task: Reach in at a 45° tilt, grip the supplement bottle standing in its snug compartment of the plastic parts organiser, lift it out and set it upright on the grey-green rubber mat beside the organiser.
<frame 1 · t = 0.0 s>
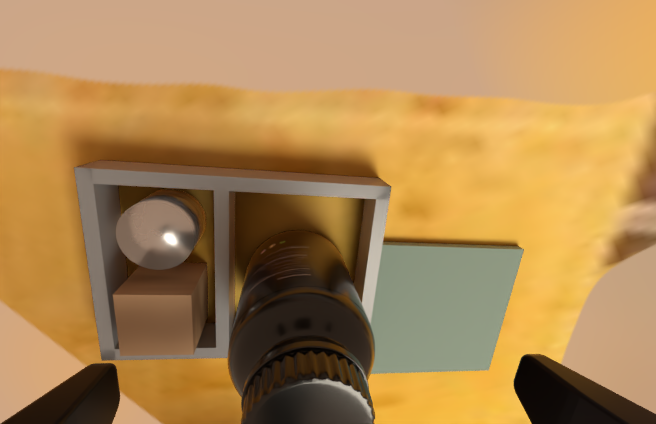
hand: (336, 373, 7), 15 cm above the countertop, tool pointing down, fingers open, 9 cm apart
rubber mat: (436, 309, 25), on the countertop
silver round piece: (173, 219, 20), resting in parts organiser
supplement bottle: (296, 270, 23), resting in parts organiser
parts organiser: (253, 257, 22), on the countertop
walnut block: (177, 288, 22), resting in parts organiser
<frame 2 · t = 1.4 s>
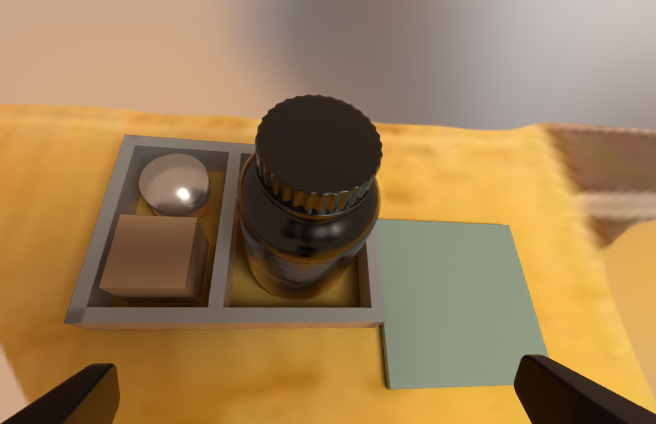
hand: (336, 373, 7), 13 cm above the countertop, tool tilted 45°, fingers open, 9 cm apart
rubber mat: (454, 296, 23), on the countertop
silver round piece: (185, 202, 23), resting in parts organiser
supplement bottle: (297, 253, 23), resting in parts organiser
parts organiser: (254, 237, 22), on the countertop
walnut block: (171, 271, 21), resting in parts organiser
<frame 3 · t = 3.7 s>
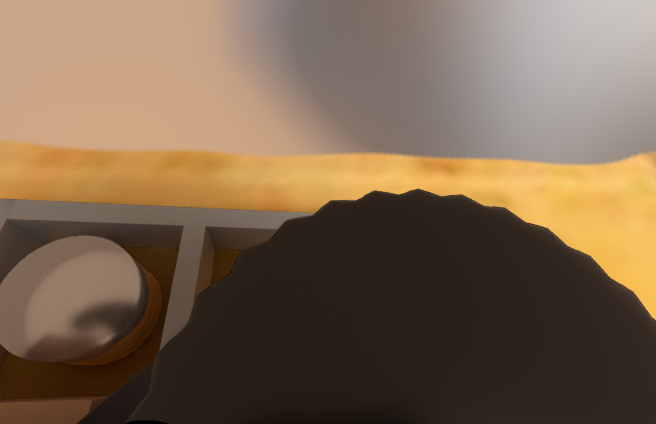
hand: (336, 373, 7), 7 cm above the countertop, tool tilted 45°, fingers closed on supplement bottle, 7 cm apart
silver round piece: (108, 310, 13), resting in parts organiser
supplement bottle: (306, 402, 13), resting in parts organiser, touching gripper
parts organiser: (229, 376, 12), on the countertop
when the fingers open (8 cm above the countertop, at t = 7.5 s): supplement bottle stays where it is, resting on rubber mat.
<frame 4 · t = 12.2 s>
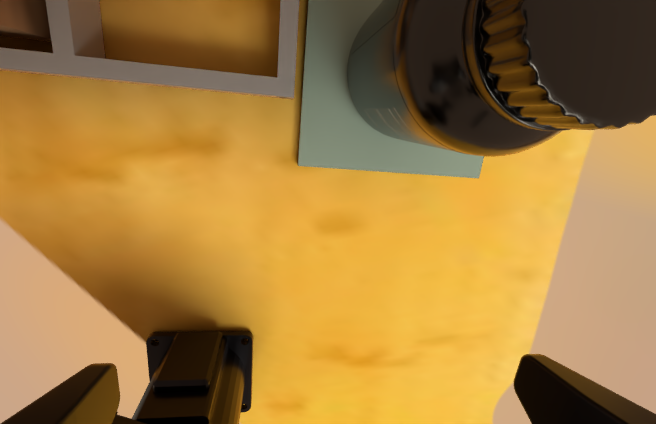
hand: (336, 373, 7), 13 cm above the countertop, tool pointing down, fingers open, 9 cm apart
rubber mat: (403, 71, 18), on the countertop
supplement bottle: (405, 72, 17), resting on rubber mat
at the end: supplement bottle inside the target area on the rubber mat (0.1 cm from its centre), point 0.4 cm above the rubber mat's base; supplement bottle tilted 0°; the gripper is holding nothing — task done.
